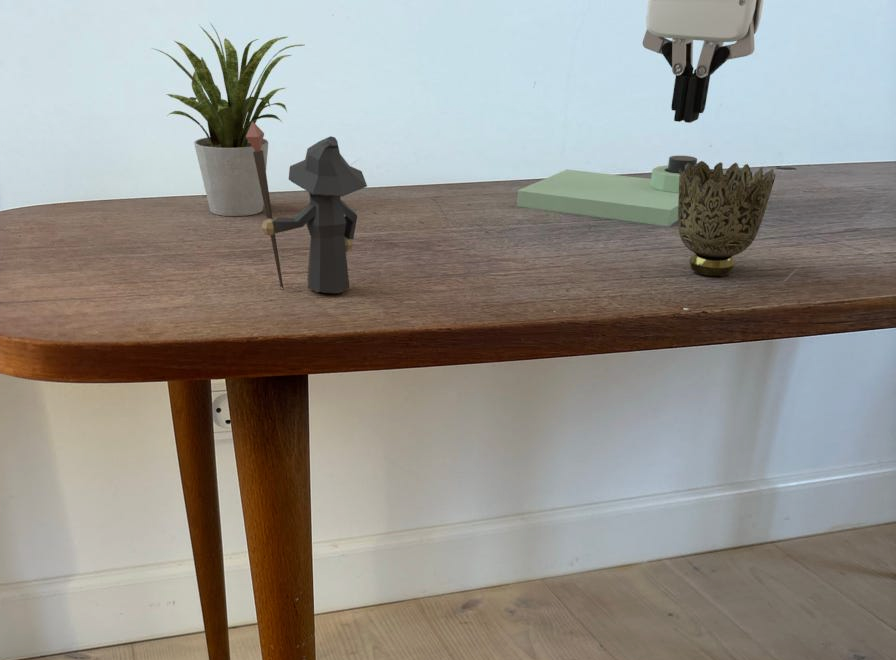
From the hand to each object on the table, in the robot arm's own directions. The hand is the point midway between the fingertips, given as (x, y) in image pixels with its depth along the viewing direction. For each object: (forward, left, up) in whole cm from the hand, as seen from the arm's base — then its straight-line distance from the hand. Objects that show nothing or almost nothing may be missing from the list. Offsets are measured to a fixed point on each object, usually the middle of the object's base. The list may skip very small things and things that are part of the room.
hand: (686, 119), depth 105 cm
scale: (+5, +4, -8) cm, 10 cm away
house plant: (+35, +26, -8) cm, 45 cm away
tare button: (0, 0, -5) cm, 5 cm away
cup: (-11, +24, -8) cm, 28 cm away
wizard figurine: (+14, +46, -8) cm, 49 cm away
